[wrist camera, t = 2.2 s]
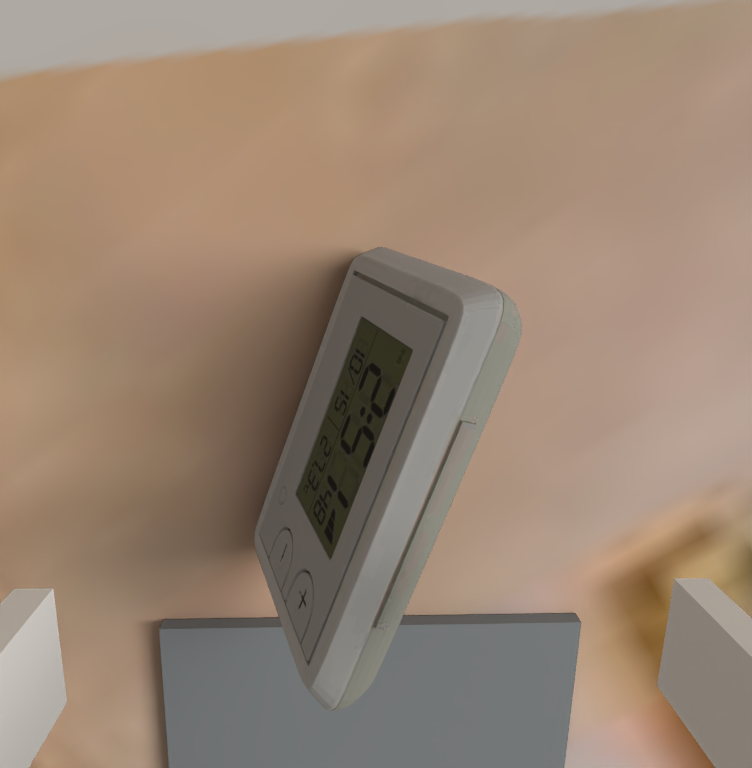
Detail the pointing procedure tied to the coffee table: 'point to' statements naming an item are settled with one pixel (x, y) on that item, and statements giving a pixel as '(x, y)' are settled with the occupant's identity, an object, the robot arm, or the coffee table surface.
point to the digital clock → (378, 459)
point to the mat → (374, 696)
